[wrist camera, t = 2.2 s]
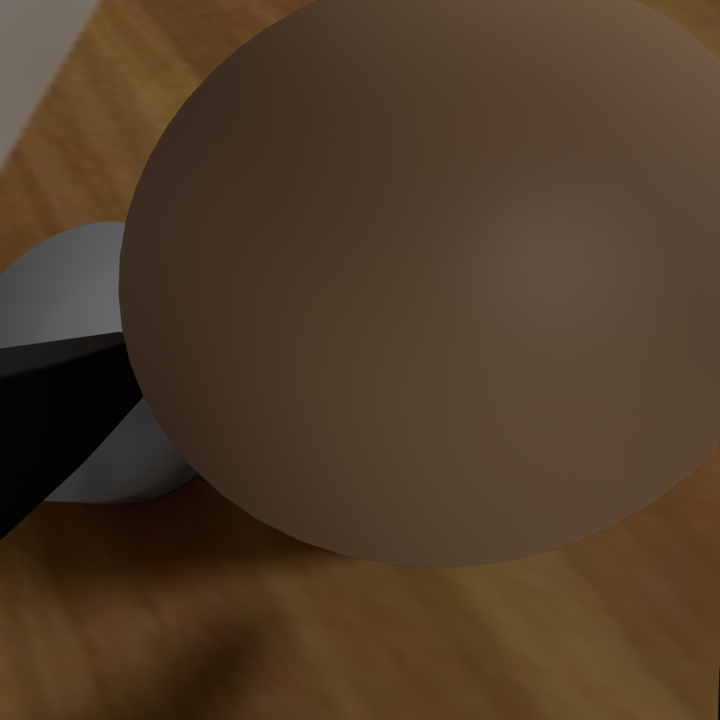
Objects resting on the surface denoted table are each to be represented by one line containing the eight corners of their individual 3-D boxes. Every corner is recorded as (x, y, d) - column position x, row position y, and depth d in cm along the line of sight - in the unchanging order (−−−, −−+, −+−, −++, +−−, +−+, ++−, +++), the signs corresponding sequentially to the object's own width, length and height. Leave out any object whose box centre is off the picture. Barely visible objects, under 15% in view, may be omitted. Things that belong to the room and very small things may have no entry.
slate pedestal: (164, 555, 17) (106, 561, 14) (-21, 433, 20) (-102, 418, 17) (298, 315, 19) (269, 278, 16) (110, 232, 21) (57, 188, 19)
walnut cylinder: (502, 574, 15) (638, 744, 3) (323, 477, 17) (6, 371, 5) (582, 388, 16) (892, 35, 5) (406, 315, 18) (300, -75, 6)
